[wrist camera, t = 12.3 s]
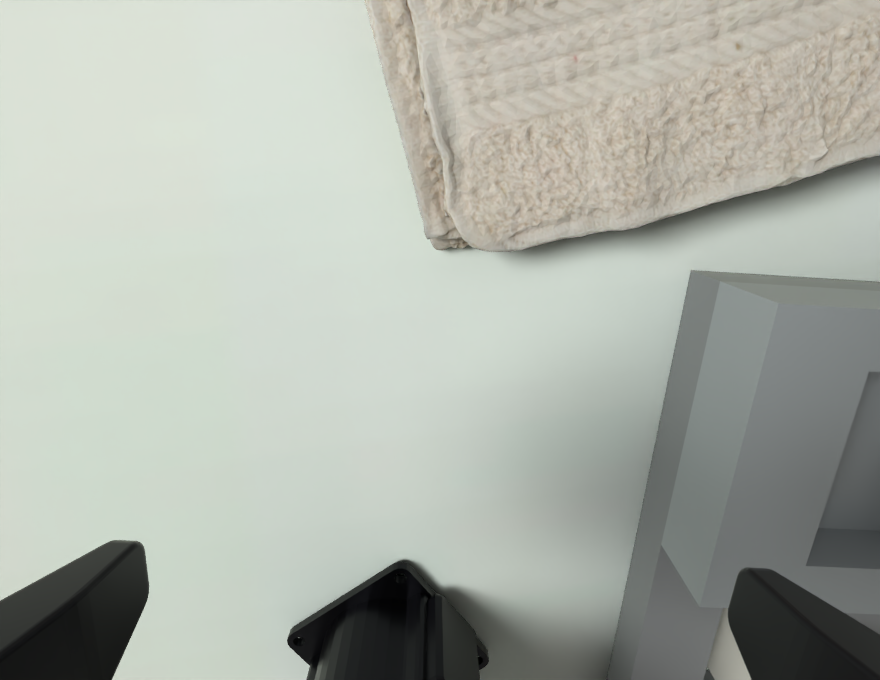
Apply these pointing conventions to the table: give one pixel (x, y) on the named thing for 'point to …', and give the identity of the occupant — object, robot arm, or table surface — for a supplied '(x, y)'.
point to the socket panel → (757, 464)
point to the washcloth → (619, 107)
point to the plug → (726, 654)
